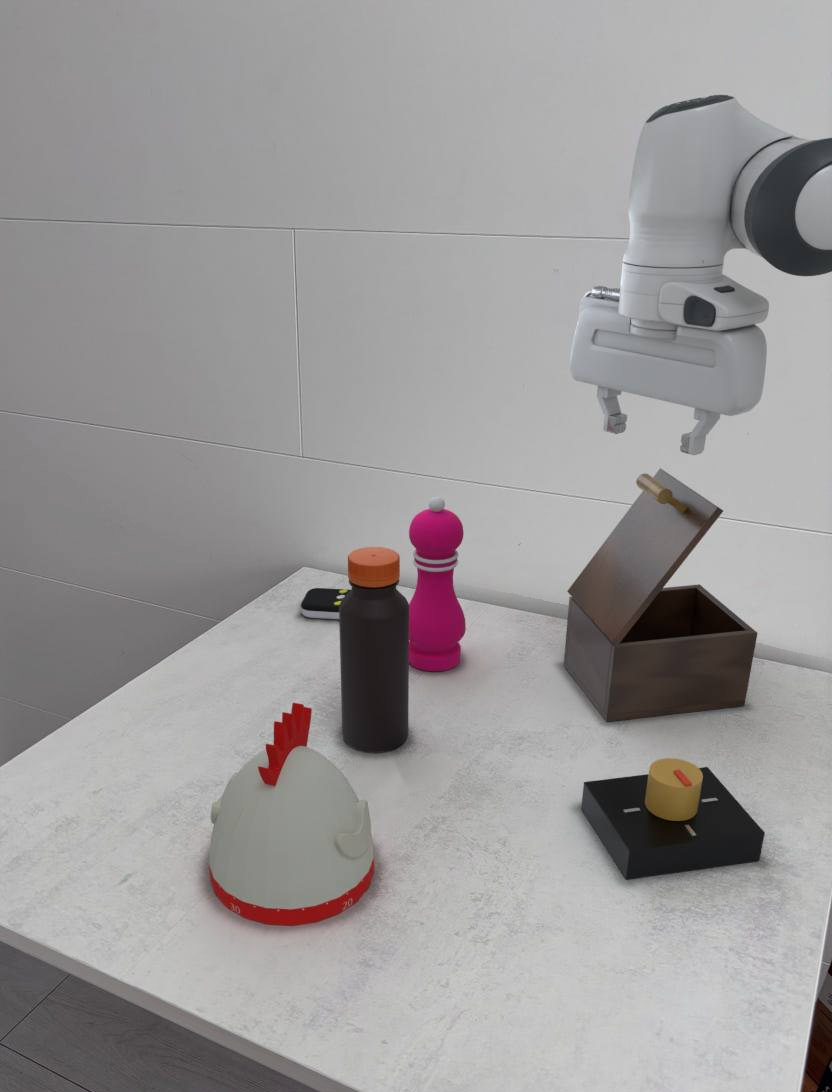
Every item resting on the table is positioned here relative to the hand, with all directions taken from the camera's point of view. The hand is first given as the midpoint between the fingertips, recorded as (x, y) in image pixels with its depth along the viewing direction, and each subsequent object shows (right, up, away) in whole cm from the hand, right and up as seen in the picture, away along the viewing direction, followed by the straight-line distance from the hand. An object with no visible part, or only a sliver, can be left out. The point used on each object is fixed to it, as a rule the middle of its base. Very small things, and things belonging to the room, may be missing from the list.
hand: (651, 442), depth 101 cm
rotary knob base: (-2, -37, -10) cm, 38 cm away
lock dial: (-2, -34, -12) cm, 36 cm away
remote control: (-29, -16, +32) cm, 46 cm away
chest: (+4, -24, +13) cm, 28 cm away
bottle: (-27, -30, +5) cm, 40 cm away
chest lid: (+1, -11, +5) cm, 12 cm away
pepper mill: (-20, -22, +19) cm, 35 cm away
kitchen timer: (-35, -39, -14) cm, 54 cm away
